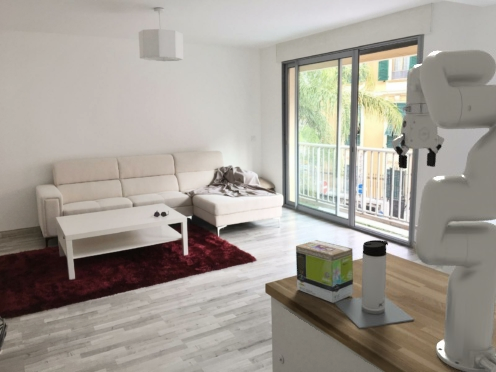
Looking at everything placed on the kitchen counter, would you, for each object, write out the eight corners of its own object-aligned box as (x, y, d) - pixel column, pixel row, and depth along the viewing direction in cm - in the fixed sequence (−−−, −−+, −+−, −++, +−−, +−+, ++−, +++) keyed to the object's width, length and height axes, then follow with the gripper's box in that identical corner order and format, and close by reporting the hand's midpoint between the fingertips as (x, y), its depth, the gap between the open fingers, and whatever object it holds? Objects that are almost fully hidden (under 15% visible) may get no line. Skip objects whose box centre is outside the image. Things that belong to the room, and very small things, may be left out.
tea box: (354, 294, 127) (353, 247, 125) (332, 304, 121) (331, 255, 118) (317, 281, 138) (316, 238, 136) (295, 289, 132) (294, 245, 130)
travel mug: (387, 315, 113) (389, 245, 110) (362, 314, 114) (363, 244, 111) (384, 305, 119) (386, 238, 116) (360, 303, 120) (362, 237, 117)
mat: (414, 320, 111) (414, 319, 111) (359, 328, 108) (359, 327, 107) (382, 295, 126) (382, 294, 126) (333, 302, 123) (333, 301, 123)
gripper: (400, 110, 118) (398, 170, 121) (453, 109, 122) (450, 167, 125) (386, 111, 125) (384, 167, 128) (436, 109, 129) (433, 164, 132)
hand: (416, 167), depth 127 cm, fingers open, 9 cm apart
